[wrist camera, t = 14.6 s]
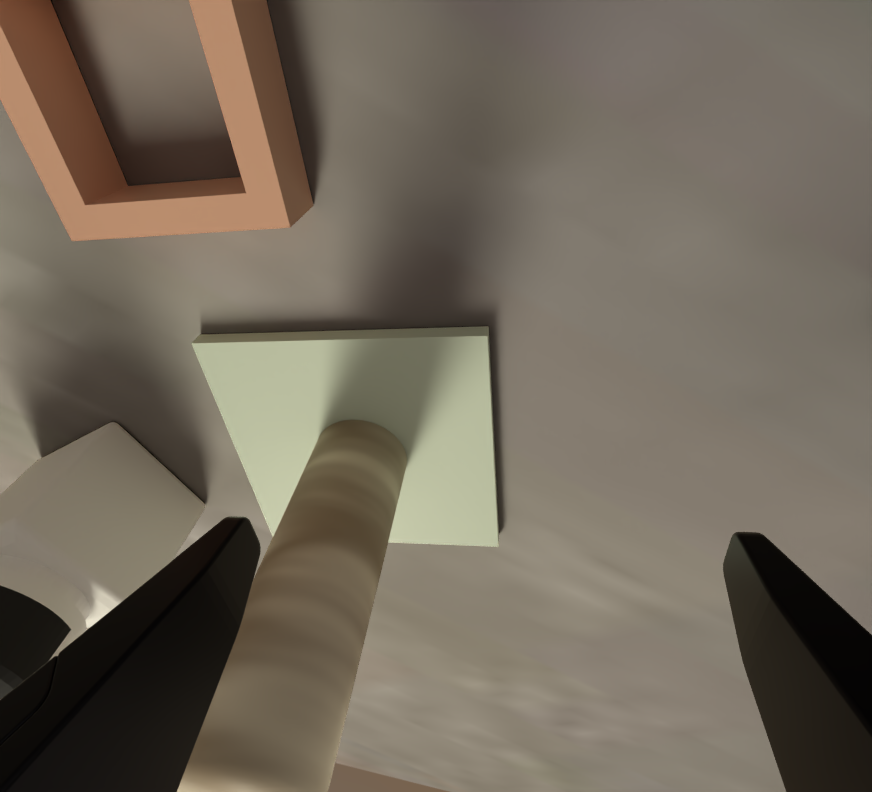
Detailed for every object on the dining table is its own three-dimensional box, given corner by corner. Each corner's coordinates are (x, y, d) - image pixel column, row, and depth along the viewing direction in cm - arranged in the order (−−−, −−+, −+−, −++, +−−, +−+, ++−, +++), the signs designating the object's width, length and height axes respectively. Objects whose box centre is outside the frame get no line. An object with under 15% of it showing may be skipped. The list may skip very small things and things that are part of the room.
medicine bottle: (38, 457, 31) (-183, 663, 21) (115, 417, 28) (-98, 632, 18) (132, 534, 34) (-22, 742, 24) (210, 504, 31) (71, 726, 22)
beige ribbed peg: (362, 404, 24) (228, 749, 13) (425, 465, 26) (355, 815, 15) (298, 445, 26) (134, 774, 15) (361, 499, 28) (256, 829, 17)
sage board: (488, 326, 22) (487, 335, 21) (498, 535, 29) (498, 546, 29) (200, 334, 24) (191, 343, 23) (278, 527, 32) (273, 537, 31)
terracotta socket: (244, -97, 15) (202, -112, 13) (313, 205, 20) (290, 227, 18) (-8, -54, 16) (-82, -62, 14) (113, 219, 21) (71, 241, 19)
